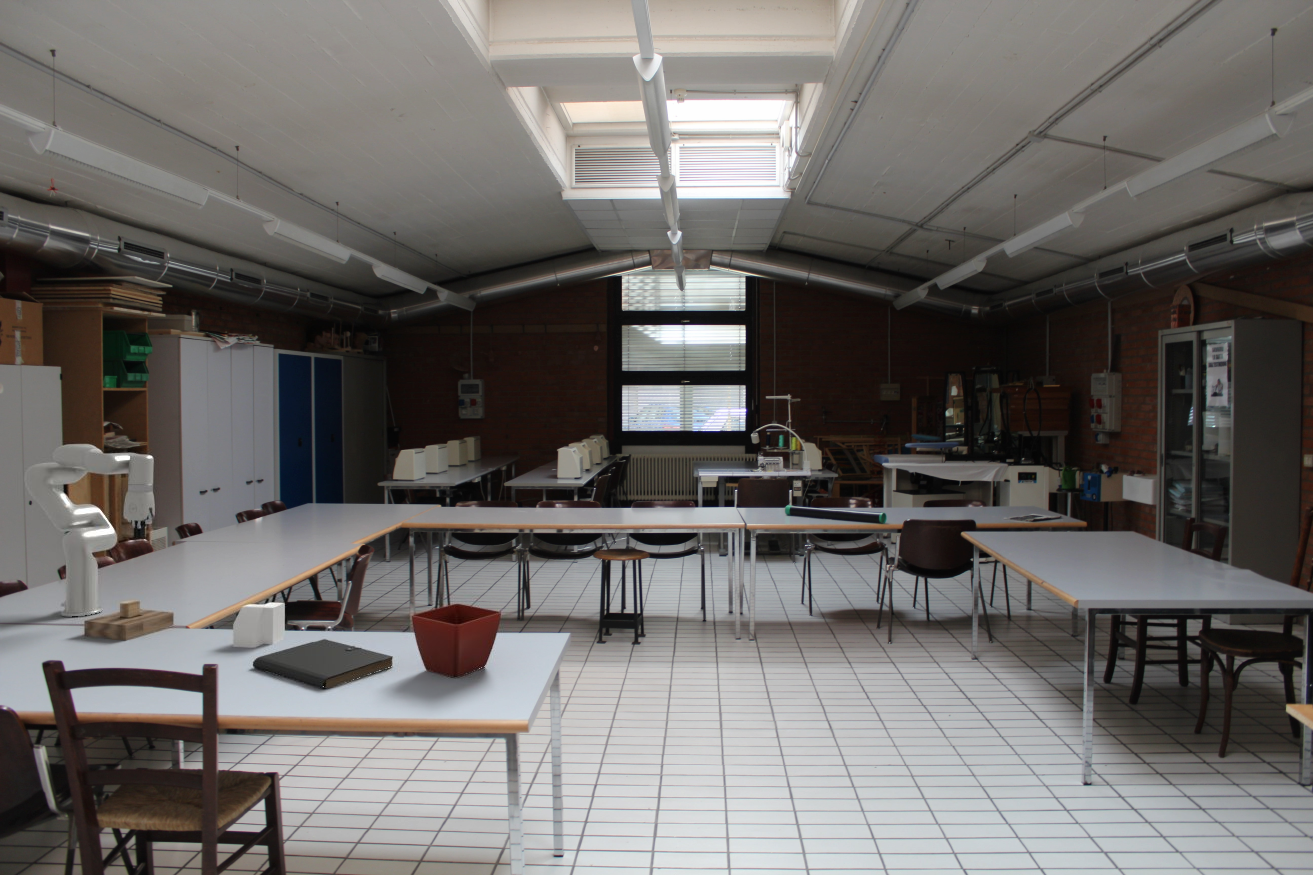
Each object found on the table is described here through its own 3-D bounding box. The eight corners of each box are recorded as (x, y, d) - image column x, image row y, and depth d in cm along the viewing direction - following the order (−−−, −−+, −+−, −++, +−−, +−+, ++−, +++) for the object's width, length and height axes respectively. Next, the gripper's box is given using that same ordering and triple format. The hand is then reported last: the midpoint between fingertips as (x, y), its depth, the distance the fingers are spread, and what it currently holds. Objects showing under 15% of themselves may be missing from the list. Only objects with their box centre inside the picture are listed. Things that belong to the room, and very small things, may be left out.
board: (84, 635, 262) (84, 620, 262) (133, 622, 279) (133, 608, 279) (126, 640, 257) (126, 625, 257) (173, 626, 274) (173, 612, 274)
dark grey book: (394, 655, 234) (322, 678, 214) (394, 668, 234) (322, 693, 214) (324, 637, 251) (252, 657, 231) (324, 650, 252) (252, 671, 231)
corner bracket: (284, 638, 262) (284, 602, 262) (264, 648, 251) (264, 611, 251) (254, 637, 263) (254, 601, 263) (233, 646, 252) (233, 609, 252)
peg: (119, 631, 267) (119, 602, 266) (130, 628, 271) (130, 600, 270) (128, 633, 265) (128, 603, 265) (139, 630, 269) (139, 601, 269)
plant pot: (502, 666, 237) (503, 611, 236) (456, 684, 220) (457, 624, 220) (456, 655, 246) (456, 602, 246) (409, 672, 230) (409, 615, 230)
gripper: (115, 487, 282) (114, 538, 282) (146, 490, 277) (145, 542, 278) (134, 486, 289) (133, 535, 290) (165, 489, 284) (164, 539, 285)
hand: (139, 538), depth 284 cm, fingers closed
